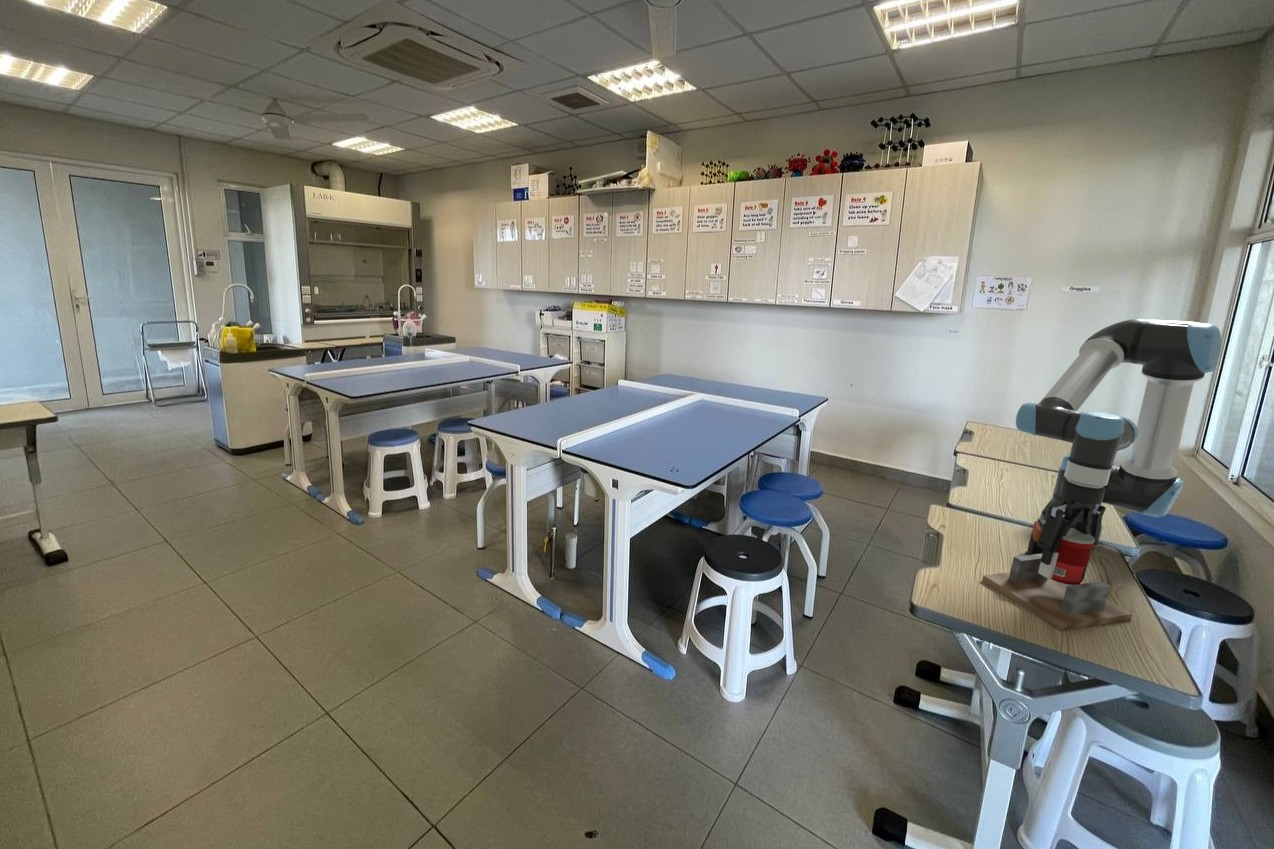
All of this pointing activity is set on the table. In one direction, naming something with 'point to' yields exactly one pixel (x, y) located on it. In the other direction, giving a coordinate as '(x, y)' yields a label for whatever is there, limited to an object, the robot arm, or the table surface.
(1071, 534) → the canned food
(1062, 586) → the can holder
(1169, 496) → the robot arm
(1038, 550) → the battery
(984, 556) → the table surface
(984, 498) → the table surface
